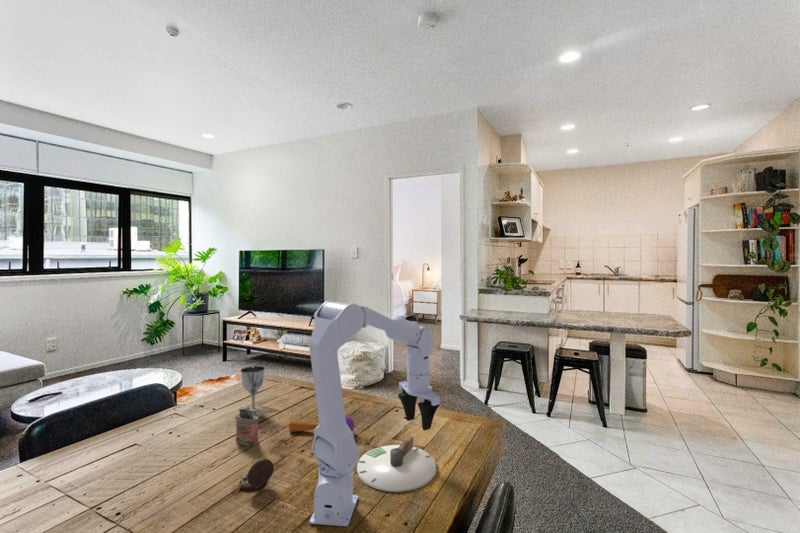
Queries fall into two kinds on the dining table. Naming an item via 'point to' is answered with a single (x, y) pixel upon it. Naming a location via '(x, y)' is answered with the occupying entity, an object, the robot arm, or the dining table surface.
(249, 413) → the lighter
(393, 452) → the tuning pointer
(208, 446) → the dining table surface
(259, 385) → the wine glass
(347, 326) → the robot arm
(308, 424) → the kendama
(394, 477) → the gauge dial
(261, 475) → the compass
